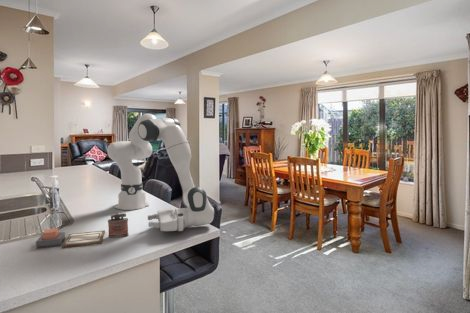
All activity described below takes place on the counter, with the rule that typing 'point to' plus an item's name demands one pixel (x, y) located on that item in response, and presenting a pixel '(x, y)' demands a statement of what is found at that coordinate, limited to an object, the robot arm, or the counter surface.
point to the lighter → (118, 226)
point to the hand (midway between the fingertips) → (148, 221)
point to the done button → (51, 233)
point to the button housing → (50, 241)
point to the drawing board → (83, 239)
